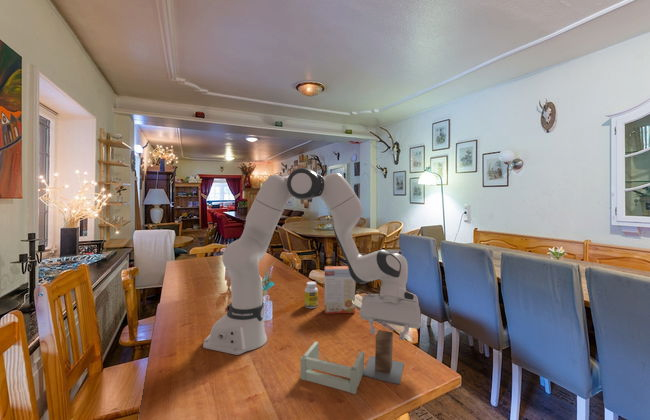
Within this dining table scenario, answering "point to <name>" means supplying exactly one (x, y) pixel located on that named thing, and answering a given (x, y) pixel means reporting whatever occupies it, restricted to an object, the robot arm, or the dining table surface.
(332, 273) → the cracker box
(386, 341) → the walnut block
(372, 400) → the dining table surface
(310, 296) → the pill bottle
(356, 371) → the crate
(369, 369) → the mat
